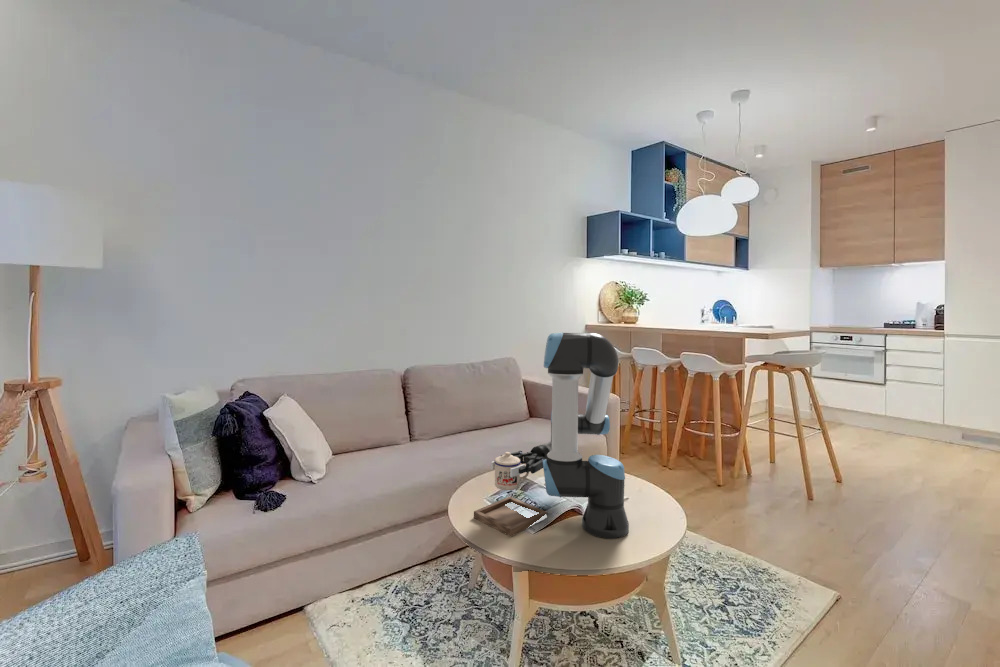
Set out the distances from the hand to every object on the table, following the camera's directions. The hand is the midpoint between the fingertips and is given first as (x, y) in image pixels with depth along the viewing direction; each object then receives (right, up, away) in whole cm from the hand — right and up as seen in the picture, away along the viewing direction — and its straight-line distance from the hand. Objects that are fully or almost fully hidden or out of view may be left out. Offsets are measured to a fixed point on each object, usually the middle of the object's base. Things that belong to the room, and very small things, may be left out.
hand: (501, 469), depth 159 cm
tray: (+3, -18, +3) cm, 18 cm away
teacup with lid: (+4, -7, +3) cm, 8 cm away
